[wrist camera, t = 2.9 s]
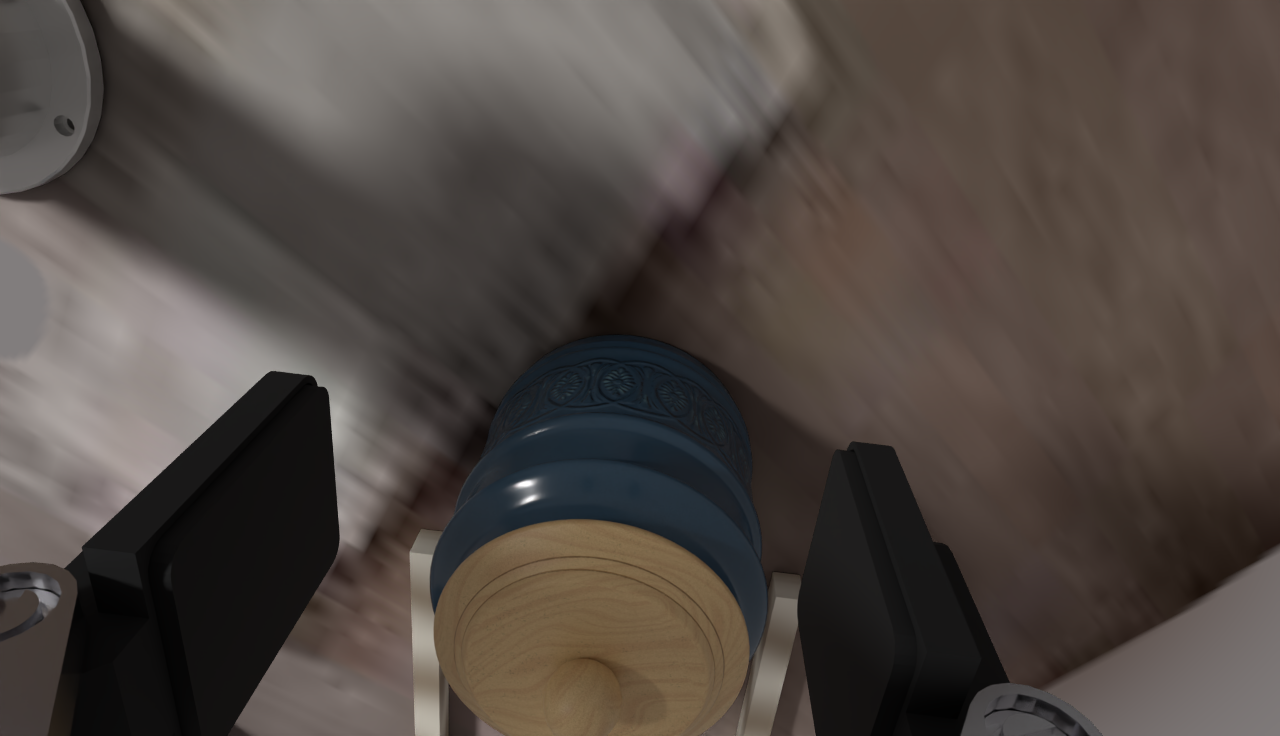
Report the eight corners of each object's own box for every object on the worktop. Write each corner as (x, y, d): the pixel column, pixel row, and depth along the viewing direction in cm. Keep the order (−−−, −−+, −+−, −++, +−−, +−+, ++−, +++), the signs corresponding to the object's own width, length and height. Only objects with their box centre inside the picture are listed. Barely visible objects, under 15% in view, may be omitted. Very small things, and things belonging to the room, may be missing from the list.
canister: (498, 533, 44) (389, 844, 29) (494, 316, 39) (355, 554, 23) (734, 554, 44) (756, 881, 28) (765, 338, 38) (815, 596, 23)
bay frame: (421, 528, 45) (409, 552, 43) (799, 575, 44) (804, 600, 43) (426, 766, 53) (416, 794, 51) (743, 805, 53) (744, 835, 51)
